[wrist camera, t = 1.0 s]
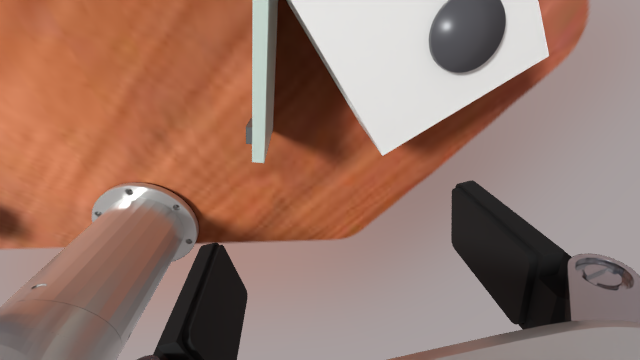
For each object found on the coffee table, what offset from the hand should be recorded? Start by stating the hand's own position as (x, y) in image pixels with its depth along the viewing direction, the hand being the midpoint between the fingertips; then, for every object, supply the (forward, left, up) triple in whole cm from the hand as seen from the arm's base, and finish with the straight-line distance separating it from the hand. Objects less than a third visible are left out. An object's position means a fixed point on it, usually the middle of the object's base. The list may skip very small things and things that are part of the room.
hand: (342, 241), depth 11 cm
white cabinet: (+11, +4, -22) cm, 25 cm away
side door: (-2, +6, -22) cm, 23 cm away
